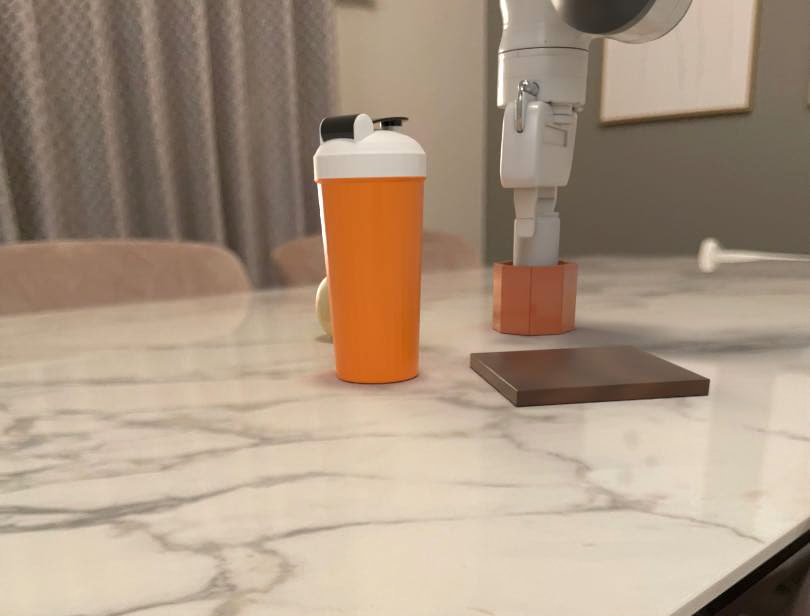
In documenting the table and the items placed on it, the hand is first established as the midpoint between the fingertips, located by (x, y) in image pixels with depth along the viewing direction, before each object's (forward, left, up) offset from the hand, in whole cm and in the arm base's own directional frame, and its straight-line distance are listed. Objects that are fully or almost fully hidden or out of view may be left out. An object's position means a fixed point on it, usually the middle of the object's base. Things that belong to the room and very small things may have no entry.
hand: (535, 234), depth 90 cm
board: (+4, +26, -10) cm, 28 cm away
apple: (+20, 0, -10) cm, 22 cm away
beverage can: (0, 0, -10) cm, 10 cm away
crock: (0, 0, -10) cm, 10 cm away
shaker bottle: (+20, +20, -10) cm, 30 cm away
